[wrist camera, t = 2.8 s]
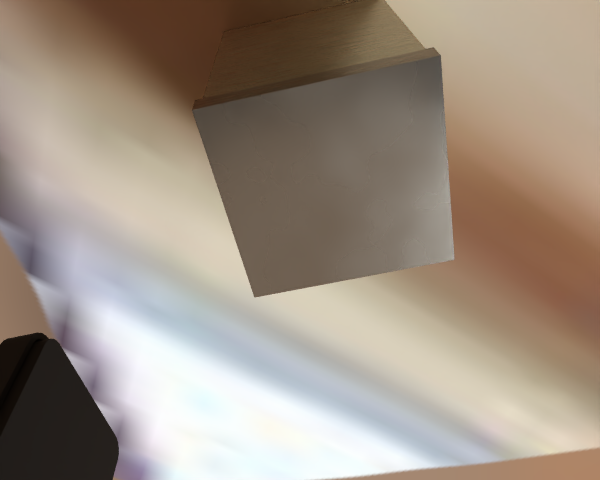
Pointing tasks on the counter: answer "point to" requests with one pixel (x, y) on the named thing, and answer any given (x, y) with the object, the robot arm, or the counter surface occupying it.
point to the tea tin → (329, 147)
